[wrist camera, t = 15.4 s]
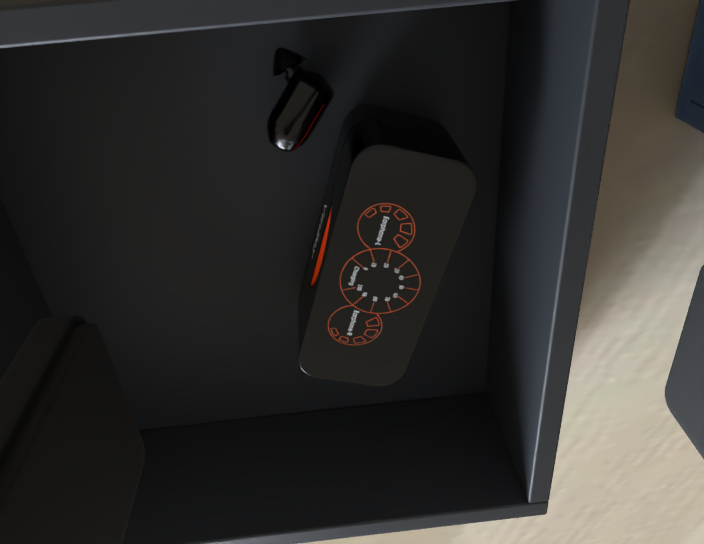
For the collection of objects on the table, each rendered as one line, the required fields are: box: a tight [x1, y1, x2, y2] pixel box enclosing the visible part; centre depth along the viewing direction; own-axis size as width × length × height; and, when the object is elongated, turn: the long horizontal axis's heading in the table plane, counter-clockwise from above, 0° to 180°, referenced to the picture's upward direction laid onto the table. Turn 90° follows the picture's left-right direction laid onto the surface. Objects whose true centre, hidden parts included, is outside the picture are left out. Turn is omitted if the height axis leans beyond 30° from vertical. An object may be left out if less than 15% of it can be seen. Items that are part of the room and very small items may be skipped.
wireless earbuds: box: [267, 47, 477, 386], centre depth 15 cm, size 5×7×3 cm, turn 165°
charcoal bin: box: [0, 0, 630, 544], centre depth 15 cm, size 14×14×5 cm
